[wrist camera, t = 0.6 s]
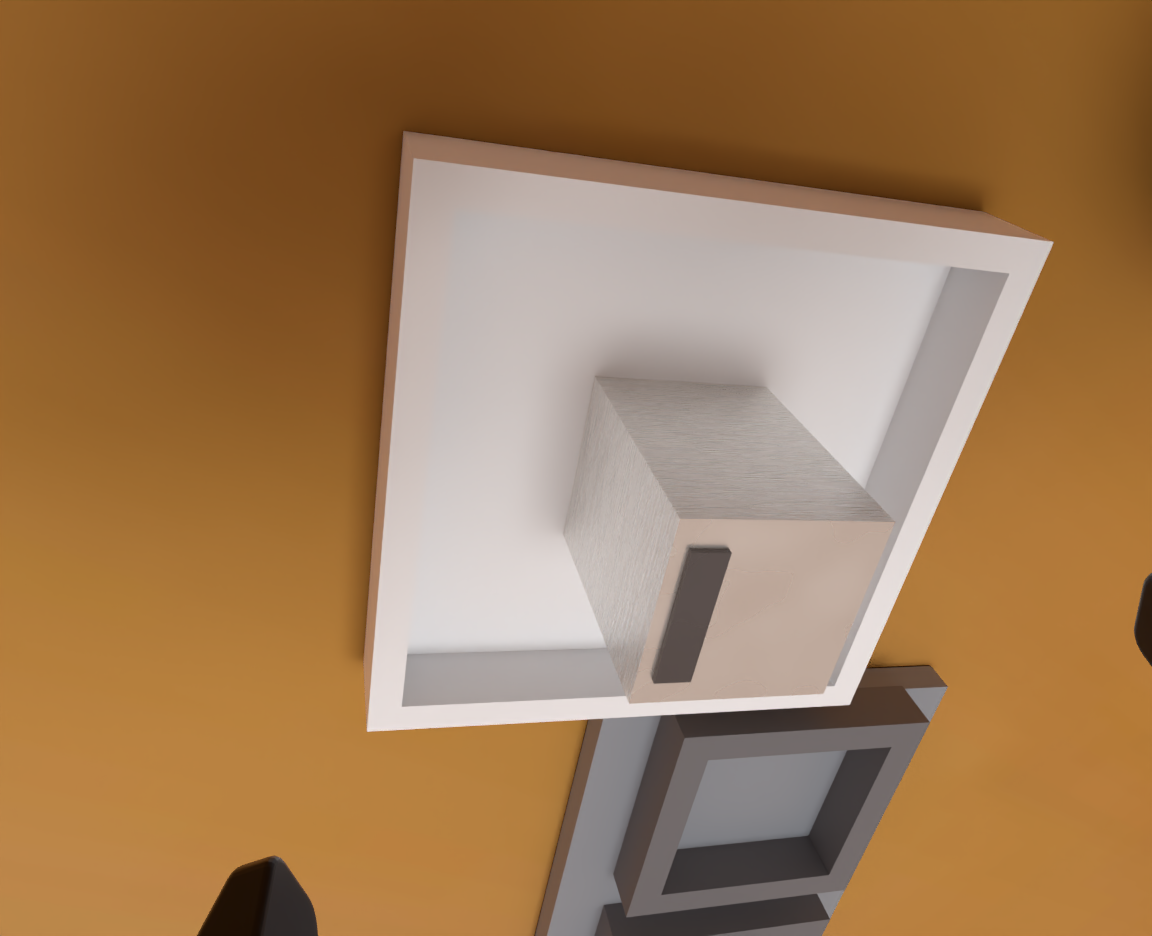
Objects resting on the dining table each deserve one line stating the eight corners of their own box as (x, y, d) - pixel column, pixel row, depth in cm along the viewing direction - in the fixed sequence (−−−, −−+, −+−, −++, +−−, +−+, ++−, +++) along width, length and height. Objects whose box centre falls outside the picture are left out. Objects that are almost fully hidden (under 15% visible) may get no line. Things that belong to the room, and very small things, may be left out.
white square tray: (983, 211, 21) (1054, 242, 19) (811, 648, 28) (849, 705, 26) (403, 130, 17) (413, 158, 15) (363, 662, 24) (367, 731, 22)
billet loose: (766, 386, 22) (898, 525, 17) (720, 535, 24) (826, 698, 19) (594, 375, 21) (681, 522, 16) (562, 534, 23) (630, 708, 18)
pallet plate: (932, 662, 30) (979, 719, 28) (780, 974, 39) (806, 1035, 37) (599, 675, 27) (623, 741, 24) (515, 1015, 35) (527, 1085, 33)
